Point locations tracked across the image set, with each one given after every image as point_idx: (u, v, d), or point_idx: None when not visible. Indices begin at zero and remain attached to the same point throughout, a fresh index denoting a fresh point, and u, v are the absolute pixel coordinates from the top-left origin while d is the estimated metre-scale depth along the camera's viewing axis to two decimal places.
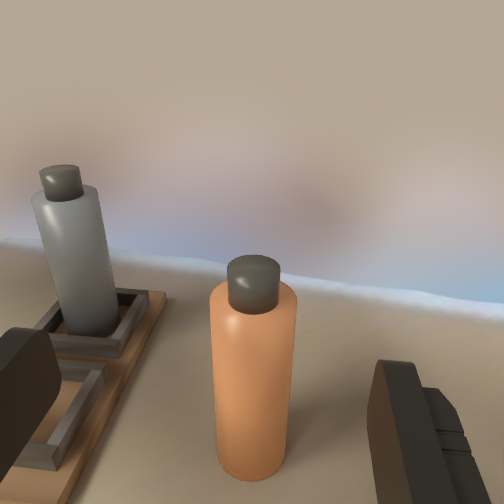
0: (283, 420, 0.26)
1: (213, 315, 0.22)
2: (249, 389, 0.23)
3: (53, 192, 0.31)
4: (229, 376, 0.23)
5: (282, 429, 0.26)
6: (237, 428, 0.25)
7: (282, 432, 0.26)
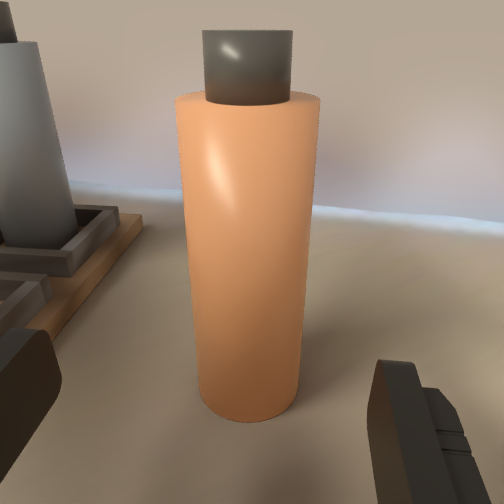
0: (297, 321, 0.17)
1: (180, 113, 0.13)
2: (243, 248, 0.14)
3: None
4: (209, 227, 0.14)
5: (295, 338, 0.17)
6: (226, 327, 0.16)
7: (295, 343, 0.17)
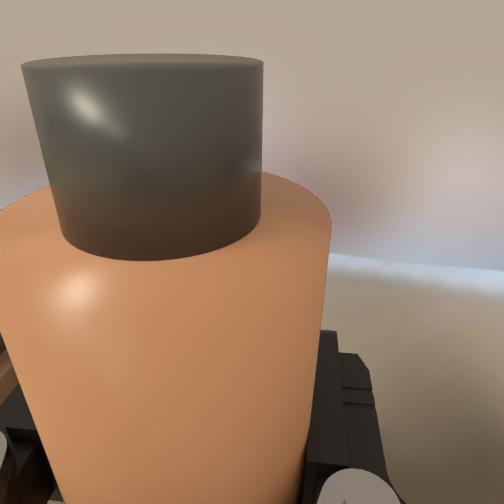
0: None
1: None
2: None
3: None
4: None
5: None
6: None
7: None
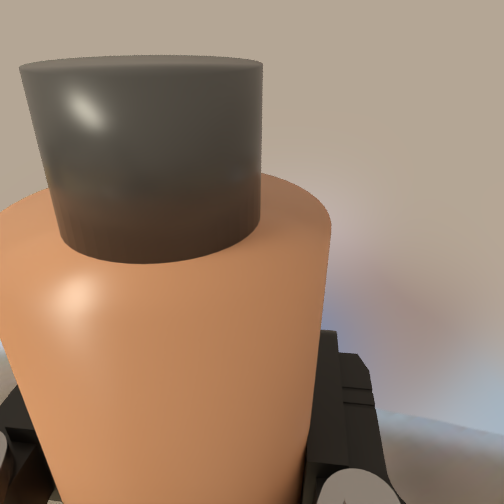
0: None
1: None
2: None
3: None
4: None
5: None
6: None
7: None
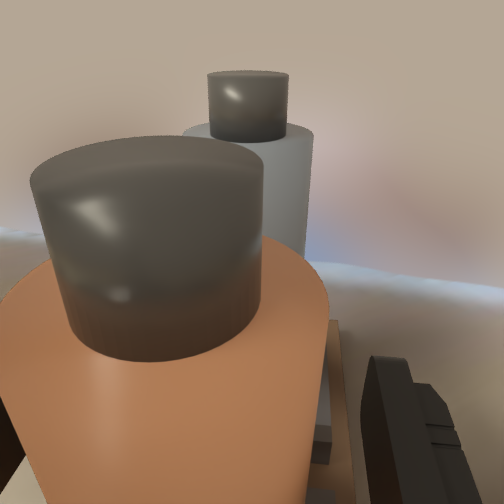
0: None
1: None
2: None
3: (242, 120, 0.14)
4: None
5: None
6: None
7: None
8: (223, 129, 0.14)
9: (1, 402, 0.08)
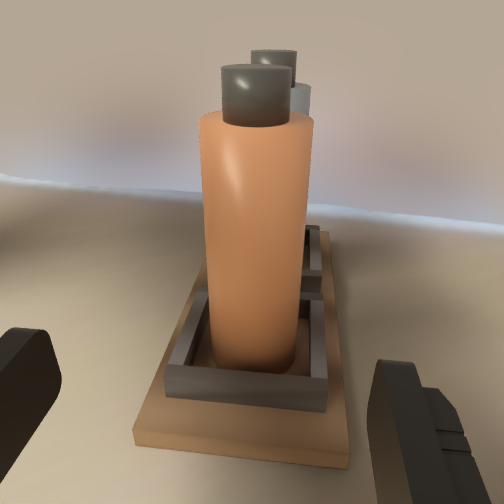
0: (294, 298, 0.20)
1: (203, 132, 0.16)
2: (251, 238, 0.17)
3: None
4: (225, 222, 0.17)
5: (292, 312, 0.21)
6: (236, 302, 0.19)
7: (292, 317, 0.21)
8: None
9: None
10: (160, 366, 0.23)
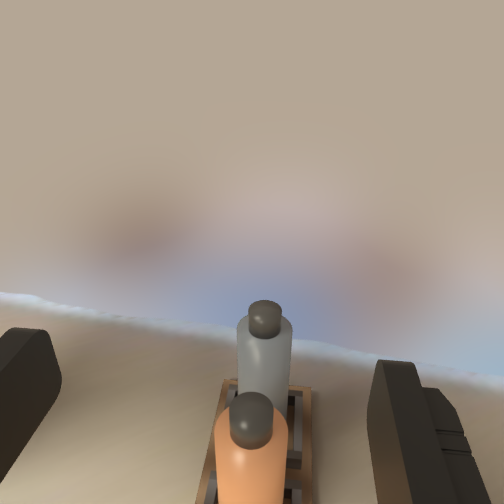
0: None
1: (217, 448, 0.26)
2: None
3: (263, 332, 0.34)
4: (231, 495, 0.27)
5: None
6: None
7: None
8: (255, 333, 0.34)
9: None
10: None
